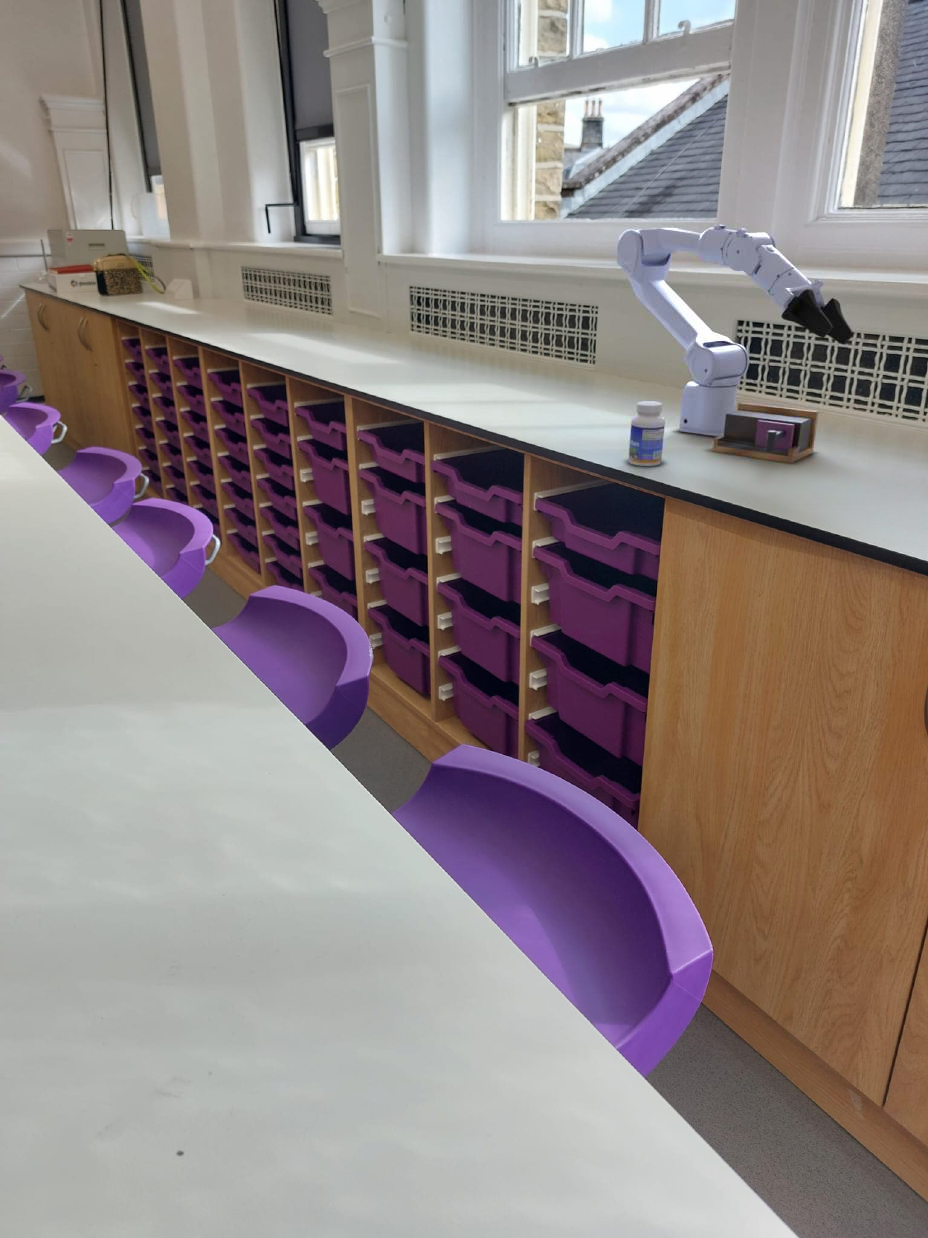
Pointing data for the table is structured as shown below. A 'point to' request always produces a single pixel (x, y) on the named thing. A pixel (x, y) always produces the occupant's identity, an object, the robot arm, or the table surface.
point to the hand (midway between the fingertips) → (838, 336)
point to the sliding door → (774, 435)
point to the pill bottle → (647, 434)
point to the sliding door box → (744, 430)
